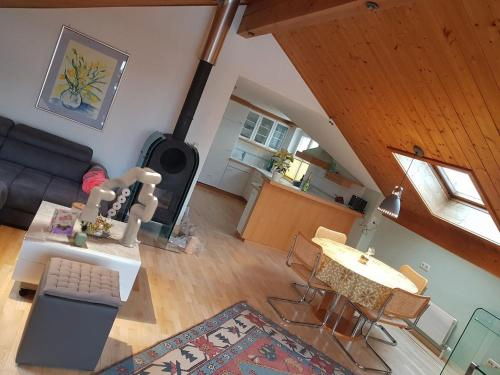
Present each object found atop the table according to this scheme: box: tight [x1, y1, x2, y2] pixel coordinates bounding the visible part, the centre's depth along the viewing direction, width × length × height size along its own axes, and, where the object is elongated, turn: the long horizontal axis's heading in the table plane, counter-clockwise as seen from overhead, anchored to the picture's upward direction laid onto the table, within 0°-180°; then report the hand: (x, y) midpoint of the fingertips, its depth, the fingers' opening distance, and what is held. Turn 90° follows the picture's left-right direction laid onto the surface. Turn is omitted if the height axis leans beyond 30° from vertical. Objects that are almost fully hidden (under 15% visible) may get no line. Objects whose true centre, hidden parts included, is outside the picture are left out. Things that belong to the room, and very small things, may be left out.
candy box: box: [47, 207, 78, 236], centre depth 263 cm, size 14×6×16 cm, turn 131°
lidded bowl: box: [70, 202, 86, 219], centre depth 305 cm, size 13×13×11 cm
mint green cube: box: [74, 231, 88, 246], centre depth 256 cm, size 5×5×7 cm
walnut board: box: [66, 231, 89, 249], centre depth 260 cm, size 11×18×5 cm, turn 35°
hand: (83, 230), depth 255 cm, fingers closed
